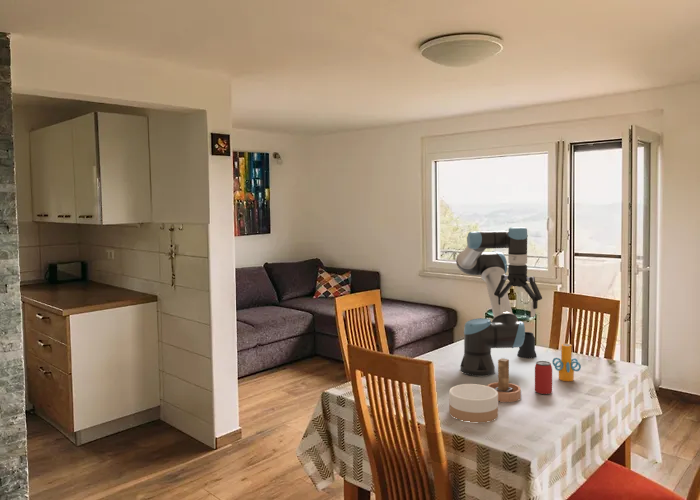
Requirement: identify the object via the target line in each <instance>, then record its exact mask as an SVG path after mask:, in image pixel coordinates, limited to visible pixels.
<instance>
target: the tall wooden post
mask: <svg viewBox="0 0 700 500" xmlns="http://www.w3.org/2000/svg"><path fill="white" fill-rule="evenodd" d="M497 369H498V370H497V374H498V375H497V379H498V380H497V382H498V389H499V390H503V391H507V390H509V383H510V360H509V359H507V358H503V357H501V358H499V359H498V360H497Z"/></svg>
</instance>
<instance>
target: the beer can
mask: <svg viewBox="0 0 700 500" xmlns="http://www.w3.org/2000/svg"><path fill="white" fill-rule="evenodd" d="M534 391H535V393H537V394H539V395H550V394H552V393H553V366H552V363H551V362H550V361H548V360H547V361H546V360H537V361H536V362H535V365H534Z"/></svg>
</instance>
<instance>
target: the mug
mask: <svg viewBox="0 0 700 500" xmlns="http://www.w3.org/2000/svg"><path fill="white" fill-rule="evenodd" d="M535 337H536V336H535V335H534V333H533V332H530V331H525V338H524V343H523V345H522V346H521V347H518V351H517V354H516V355H517V357H518V358H523V359H535V358H537V357H538V356H537V353H536V350H535V349H536V338H535Z"/></svg>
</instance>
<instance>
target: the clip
mask: <svg viewBox="0 0 700 500" xmlns="http://www.w3.org/2000/svg"><path fill="white" fill-rule="evenodd" d="M495 390H496V391H498V392H508V393H509V392H513V388H510V387H509V390H507V391H503V390H499V389H498V387H497V388H495Z"/></svg>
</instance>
